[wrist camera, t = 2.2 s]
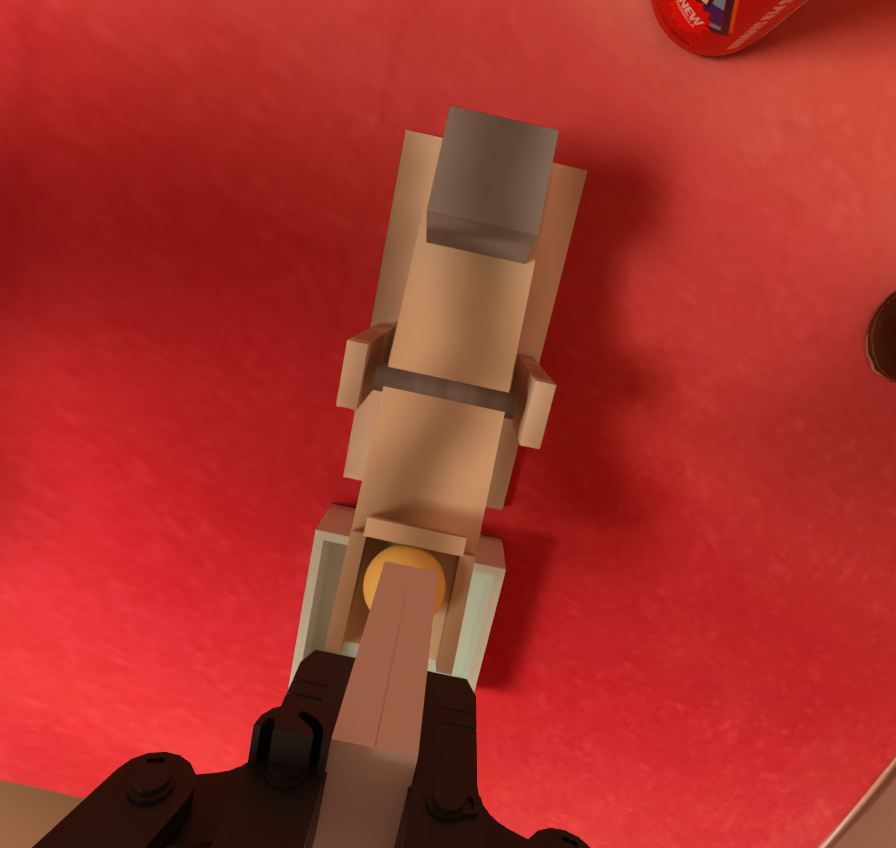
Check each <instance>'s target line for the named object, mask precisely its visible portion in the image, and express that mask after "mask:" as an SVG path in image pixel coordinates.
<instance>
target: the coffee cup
mask: <svg viewBox="0 0 896 848" xmlns="http://www.w3.org/2000/svg"><path fill="white" fill-rule="evenodd" d="M866 356H867V357H868V359H869V362H870V366H871V369H872V370H873V372H874V373H876V374H878V375H880V376H883V377H884V378H886V379H887V380H888V381H890V382H896V291H895V292H894V293H893V294H891V295H890V296H889V297H888V298H887V299H885V300H884V301H883V302H882V303H881V304H880V305H879V306H878V307H877V309H876V311H875V312H874V314H873V316H872V318H871V320H870V323H869V326H868V330H867V333H866Z"/></svg>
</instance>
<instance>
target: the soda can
mask: <svg viewBox="0 0 896 848" xmlns="http://www.w3.org/2000/svg"><path fill="white" fill-rule="evenodd" d="M807 1H808V0H651V3H652V7H653V11H654V14H655V16H656V18H657V21H658V23H659V24H660V26H661V28H662V29H663V31H664V32H665V33H666V34H667V36H668V37H669V38H670V39H671V40H672V41H673V42H675V43H676V44H677V45H679V46H680V47H682V48H683V49H685V50H687V51H689V52H692V53H695V54H698V55H703V56H723V55H728V54H732V53H735V52H738V51H740V50H742V49H744V48H746V47H748V46H750V45H752V44H753V43H755V42H756V41H758V40H759V39H761V38H762V37H763V36H765V35H766V34H767V33H768V32H770V31H771V30H772V29H773V28H775V27H776V26H777V25H778V24H779V23H781V22H782V21H783V20H784V19H786V18H787V17H788V16H789V15H791V14H792V13H793V12H794V11H796V10H797V9H798V8H799V7H800V6H802V5H803V4H804V3H805V2H807Z"/></svg>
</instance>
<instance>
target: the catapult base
mask: <svg viewBox="0 0 896 848" xmlns="http://www.w3.org/2000/svg"><path fill="white" fill-rule="evenodd" d="M439 138H441V137H436V136H432V135H427V134H423V133H419V132H414V131H410V130H406V131H405V136H404V142H403V147H402V153H401V158H400V164H399V169H398V175H397V181H396V186H395V192H394V197H393V203H392V208H391V214H390V220H389V225H388V231H387V236H386V242H385V247H384V253H383V259H382V264H381V270H380V275H379V281H378V286H377V292H376V297H375V303H374V309H373V314H372V320H371V325H370V328H369V329H367V330H365V331H363V332H361V333H359V334H358V335H356V336H354V337H352V338H350V339H348V340H347V344H346V350H345V355H344V361H343V367H342V373H341V379H340V385H339V390H338V396H337V402H336V406H339V407H344V408H349V409H353V410H355V414H354V420H353V425H352V431H351V437H350V442H349V448H348V453H347V459H346V464H345V470H344V476H343V477H346V478H351V479H356V480H361V481H362V479H363V475H364V470H365V466H366V461H367V457H368V452H369V448H370V444H371V439H372V435H373V430H374V426H375V421H376V417H377V413H378V408H379V404H380V399H381V395H382V392H381V391H376V390H373V383H374V377H375V372H376V368H377V365H378V363H379V362H382V363H386V364H389V359H390V355H391V350H392V346H393V342H394V337H395V333H396V328H397V324H398V319H399V315H400V311H401V306H402V302H403V297H404V293H405V288H406V284H407V280H408V275H409V271H410V266H411V262H412V257H413V253H414V248H415V244H416V240H417V235H418V231H419V226H420V222H421V217H422V213H423V209H424V204H425V200H426V195H427V191H428V186H429V182H430V177H431V173H432V169H433V164H434V160H435V155H436V151H437V146H438V142H439ZM442 139H443V138H442ZM553 164H555V166H554V171H553V176H552V181H551V186H550V191H549V196H548V201H547V206H546V211H545V216H544V221H543V226H542V231H541V235H540V240H539V245H538V250H537V255H536V260H535V265H534V270H533V275H532V280H531V285H530V290H529V295H528V300H527V305H526V310H525V315H524V320H523V325H522V330H521V334H520V339H519V344H518V349H517V354H516V359H515V364H514V369H513V374H512V379H511V384H510V389H509V390H511V391H516V392H519V398H518V404H517V408H516V412H515V415H514V418H513V420H511V419H506V418H504V419H503V424H502V429H501V433H500V438H499V443H498V448H497V453H496V458H495V463H494V468H493V473H492V478H491V483H490V488H489V493H488V498H487V503H486V507H488V508H493V509H498V510H503V506H504V502H505V498H506V494H507V490H508V486H509V482H510V478H511V474H512V470H513V466H514V462H515V458H516V454H517V450H518V446H519V445H522V446H526V447H531V448H536V449H540V447H541V443H542V439H543V435H544V431H545V427H546V424H547V420H548V416H549V412H550V408H551V404H552V401H553V397H554V393H555V389H556V384H555V383H554V382H553V380H552V379H551V378H550V377H549V376H548V374H547V373H546V372H545V371H544V370H543V368H542V367H541V366H540V365H539V362H540V358H541V354H542V351H543V347H544V343H545V339H546V335H547V331H548V327H549V323H550V319H551V315H552V311H553V307H554V303H555V299H556V295H557V291H558V287H559V283H560V279H561V275H562V271H563V267H564V263H565V259H566V255H567V251H568V247H569V243H570V239H571V235H572V231H573V227H574V223H575V219H576V215H577V211H578V207H579V203H580V199H581V195H582V191H583V187H584V183H585V180H586V176H587V172H588V170H584V169H579V168H575V167H570V166H566V165H561V164H557V163H553Z"/></svg>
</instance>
